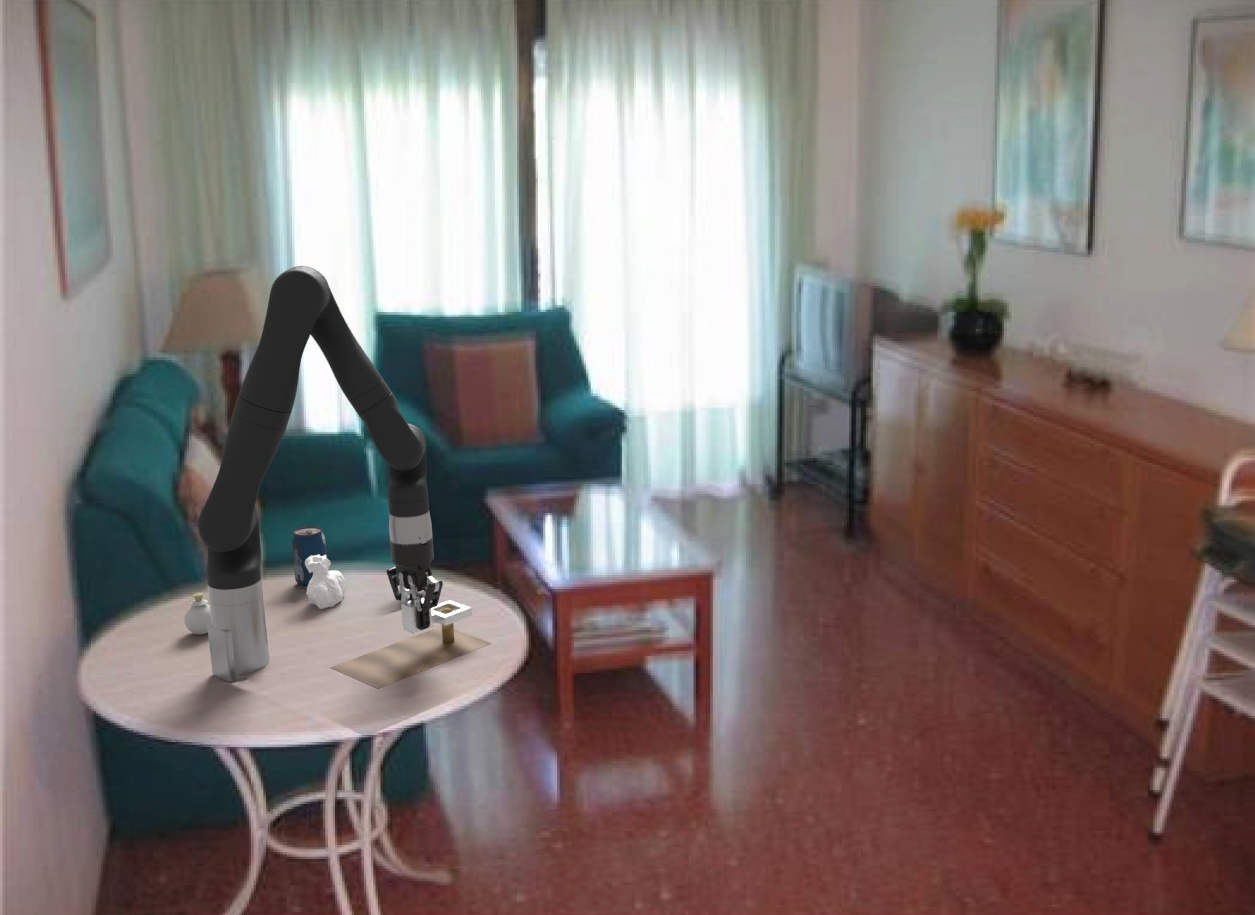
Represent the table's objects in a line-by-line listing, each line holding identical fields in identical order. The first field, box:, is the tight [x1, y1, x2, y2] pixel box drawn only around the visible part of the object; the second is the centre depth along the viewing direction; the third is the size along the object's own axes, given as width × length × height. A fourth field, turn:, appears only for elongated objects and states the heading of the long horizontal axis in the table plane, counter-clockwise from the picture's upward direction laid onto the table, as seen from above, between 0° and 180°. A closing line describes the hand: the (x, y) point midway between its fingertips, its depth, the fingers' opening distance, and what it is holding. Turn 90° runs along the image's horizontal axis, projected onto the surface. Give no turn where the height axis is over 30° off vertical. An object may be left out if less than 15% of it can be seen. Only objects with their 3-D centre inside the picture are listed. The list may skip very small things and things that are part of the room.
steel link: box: [400, 597, 473, 635], centre depth 238 cm, size 12×6×5 cm, turn 137°
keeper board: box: [330, 608, 492, 690], centre depth 235 cm, size 26×14×8 cm, turn 137°
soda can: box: [291, 526, 328, 589], centre depth 277 cm, size 7×7×12 cm
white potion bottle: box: [184, 585, 212, 636], centre depth 251 cm, size 6×7×10 cm
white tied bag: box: [305, 554, 347, 610], centre depth 267 cm, size 12×8×11 cm
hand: (417, 625), depth 236 cm, fingers closed on steel link, 3 cm apart
